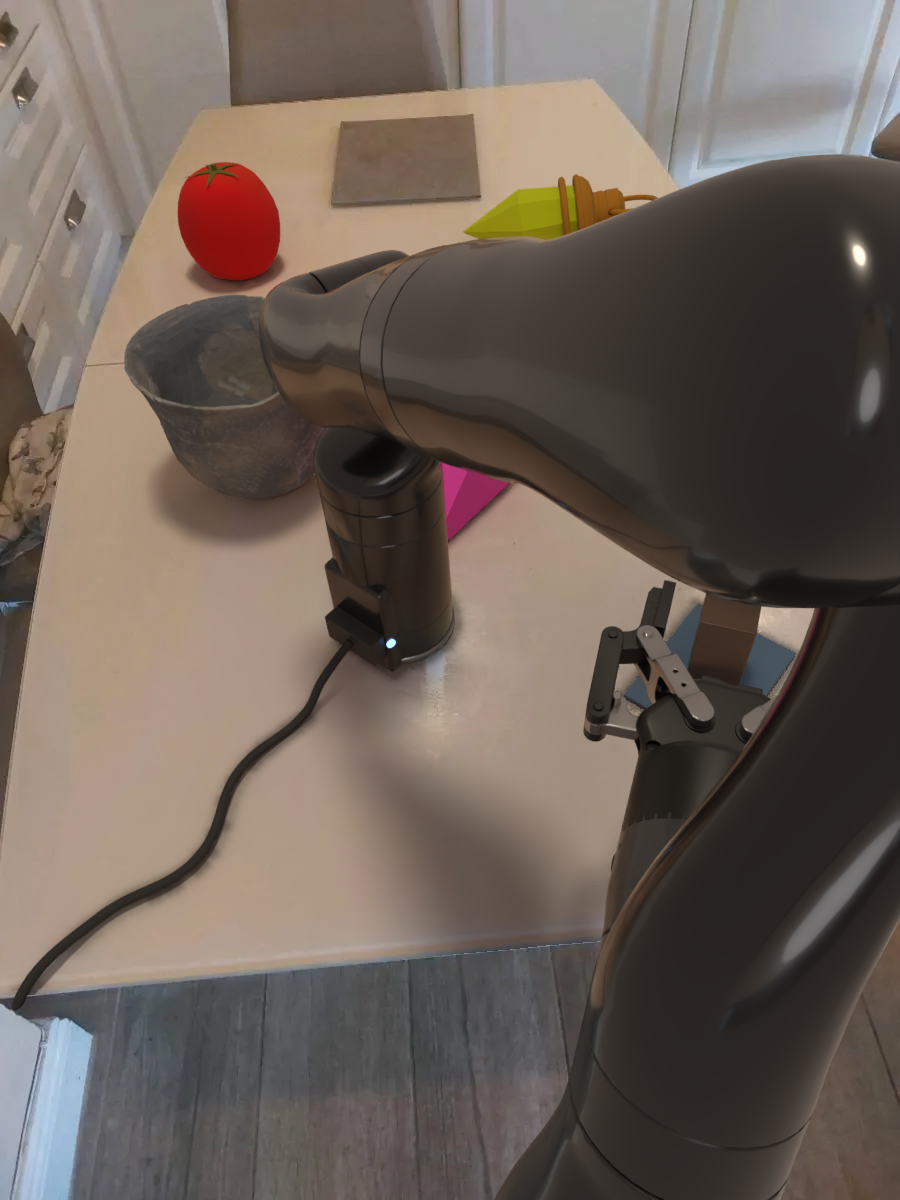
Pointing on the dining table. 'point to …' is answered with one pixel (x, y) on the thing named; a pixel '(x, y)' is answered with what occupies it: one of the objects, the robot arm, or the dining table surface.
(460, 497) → the bracket
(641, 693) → the blue mat
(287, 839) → the dining table surface
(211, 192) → the tomato
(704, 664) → the walnut block
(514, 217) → the plumb bob
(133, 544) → the dining table surface
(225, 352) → the grey deep bowl
